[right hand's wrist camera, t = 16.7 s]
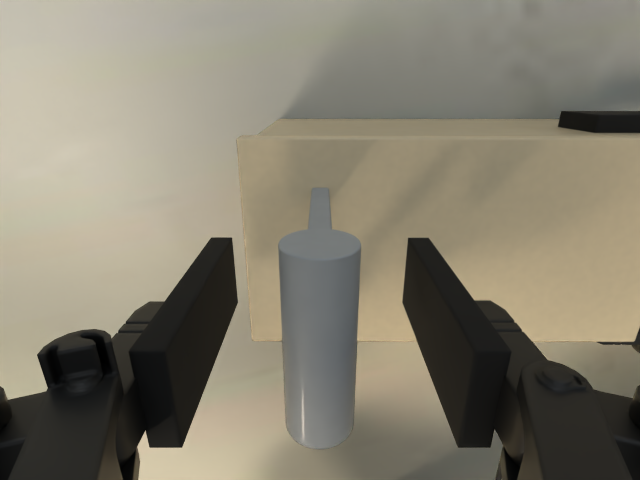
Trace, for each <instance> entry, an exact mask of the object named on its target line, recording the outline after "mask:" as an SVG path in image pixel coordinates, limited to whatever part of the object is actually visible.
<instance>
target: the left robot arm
mask: <svg viewBox="0 0 640 480" xmlns="http://www.w3.org/2000/svg"><path fill="white" fill-rule="evenodd" d="M558 127H561V128H567V129H573V130H580V131H586V132H592V133H640V111H561V114H560V119H559V123H558ZM598 343H600V344H603V345H613V344H615V345H620V344H622V345H632V347H633V348H634V349H635V350H637V351H638V352H639V353H640V328H639V331H638V333H637V336H636V339H635V341H634V342H598Z"/></svg>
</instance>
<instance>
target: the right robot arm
mask: <svg viewBox="0 0 640 480" xmlns="http://www.w3.org/2000/svg"><path fill="white" fill-rule="evenodd" d="M237 303H238V299H237V288H236V277H235V266H234V255H233V244H232V238H211V239H210V240H209V241H208V243H207V244H206V246H205V247H204V248H203V250H202V251H201V252H200V254H199V255H198V257H197V258H196V259H195V261H194V262H193V263H192V265H191V266H190V268H189V269H188V270H187V272H186V273H185V274H184V276H183V277H182V279H181V280H180V281H179V283H178V284H177V285H176V287H175V288H174V289H173V291H172V292H171V294H170V295H169V296H168V298H167V299H166V300H165V302H148V303H147V304H145V305H144V306H142V307H140V308H139V309H137V310H136V311H134V313H133V314H132V315H131V316H130V318H129V319H128V320H127V321H126V324H124V325H123V326H122V327H121V328H120V330H119V331H118V333H116V334H115V336H114V337H113V338H112V339H111V335H110V334H108V333H107V332H105V331H102V330H97V329H91V330H81V331H77V332H73V333H69V334H66V335H64V336H62V337H60V338H57V339H55V340H53V341H52V342H50V343H49V344H48V345H46V346H45V347H43V349H42V350H41V351H40V352H39V353H38V354H37V356H38V359H39V362H40V365H41V368H42V371H43V374H44V378H45V381H46V384H47V387H48V389H47V391H46V392H42V393H38V394H33V395H29V396H24V397H19V398H15V399H10V400H8V399H7V397H6V394H5V391H4V389H3V388H2V387H0V480H138V476H139V466H140V459H139V453H138V449H137V446H138V444H139V442H140V440H141V438H142V436H143V434H144V432H145V430H146V434H147V438H148V443H149V447H150V448H182V446H183V444H184V441H185V438H186V436H187V433H188V431H189V428H190V425H191V423H192V420H193V418H194V415H195V412H196V410H197V407H198V405H199V402H200V399H201V397H202V394H203V392H204V389H205V386H206V384H207V381H208V379H209V376H210V373H211V371H212V368H213V366H214V363H215V360H216V358H217V355H218V353H219V350H220V347H221V345H222V342H223V339H224V337H225V334H226V332H227V329H228V326H229V324H230V321H231V319H232V316H233V313H234V311H235V308H236V306H237ZM402 303H403V306H404V308H405V311H406V314H407V316H408V319H409V321H410V324H411V327H412V329H413V332H414V334H415V337H416V340H417V342H418V345H419V347H420V350H421V353H422V355H423V358H424V360H425V363H426V366H427V368H428V371H429V373H430V376H431V379H432V381H433V384H434V386H435V389H436V392H437V394H438V397H439V399H440V402H441V405H442V407H443V410H444V412H445V415H446V418H447V420H448V423H449V425H450V428H451V431H452V433H453V436H454V438H455V441H456V444H457V446H458V448H490V447H491V442H492V438H493V433H494V429H495V430H496V432H497V434H498V436H499V438H500V440H501V442H502V444H503V449H502V453H501V457H500V461H499V465H498V470H497V474H496V479H495V480H501V479H502V480H640V385H639V386H638V387H637V389H636V391H635V394H634V397H633V398H629V397H624V396H619V395H614V394H610V393H605V392H600V391H597V390H593V388H592V387H591V385H590V384H589V382H588V381H587V380H586V379H585V378H584V377H583V376H582V375H580V374H579V373H578V372H576V371H575V370H573V369H571V368H569V367H567V366H565V365H563V364H559V363H556V362H553V361H548V360H547V359H546V358H545V356H544V355H543V354H542V353H541V352H540V351H539V349H538V348H537V347H536V346H535V345H534V343H533V342H532V341H531V340H530V339H529V337H528V336H527V335H526V334H525V333H524V332H522V329H521V328H520V327H519V325H518V324H517V323H515V322H514V319H513V318H512V317H511V316H510V315H509V314H508V312H507V311H506V310H505V309H503V308H502V307H500V306H499V305H497V304H495V303H494V302H492V301H491V300H474V299H473V298H472V296H471V295H470V294H469V292H468V291H467V290H466V288H465V287H464V285H463V284H462V283H461V281H460V280H459V279H458V277H457V276H456V274H455V273H454V272H453V270H452V269H451V268H450V266H449V265H448V263H447V262H446V261H445V259H444V258H443V257H442V255H441V254H440V252H439V251H438V250H437V248H436V247H435V246H434V244H433V243H432V241H431V240H430V239H429V238H408V244H407V255H406V266H405V277H404V288H403V299H402Z"/></svg>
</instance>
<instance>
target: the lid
mask: <svg viewBox="0 0 640 480" xmlns="http://www.w3.org/2000/svg"><path fill="white" fill-rule="evenodd" d="M237 153H238V166H239V179H240V192H241V204H242V217H243V230H244V243H245V256H246V269H247V282H248V295H249V307H250V320H251V333H252V340H253V341H282V347H283V370H284V393H285V416H286V427H287V430H288V432H289V434H290V435H291V437H292V438H293V439H294V440H295V441H296V442H297V443H299V444H301V445H303V446H305V447H308V448H312V449H328V448H332V447H335V446H337V445H339V444H340V443H342V442H343V441H345V440H346V438H347V437H348V436H349V435H350V433H351V431H352V429H353V424H354V404H355V381H356V357H357V341H417V340H416V337H415V334H414V332H413V329H412V327H411V324H410V321H409V319H408V316H407V314H406V311H405V308H404V306H403V303H402V299H403V288H404V277H405V266H406V255H407V244H408V238H429V239H430V240H431V241H432V243H433V244H434V246H435V247H436V248H437V250H438V251H439V252H440V254H441V255H442V257H443V258H444V259H445V261H446V262H447V263H448V265H449V266H450V268H451V269H452V270H453V272H454V273H455V274H456V276H457V277H458V279H459V280H460V281H461V283H462V284H463V285H464V287H465V288H466V290H467V291H468V292H469V294H470V295H471V296H472V298H473V299H474V300H491V301H492V302H494V303H495V304H497V305H499V306H500V307H502V308H503V309H505V310H506V311H507V312H508V314H509V315H510V316H511V317H512V318H513V319H514V322H515V323H517V324H518V325H519V327H520V328H521V329H522V332H524V333H525V334H526V335H527V336H528V337H529V339H530V340H531V341H532V342H634V341H635V339H636V336H637V333H638V331H639V328H640V136H394V135H242V136H240V137H238V138H237Z"/></svg>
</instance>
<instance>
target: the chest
mask: <svg viewBox="0 0 640 480" xmlns="http://www.w3.org/2000/svg"><path fill="white" fill-rule="evenodd" d="M558 123H559V119H279V120H277V121H276V122H274V123H273V124H272V125H270V126H269V127H267V128H266V129H265V130H263V131H262V132H261V133H259V134H258V135H394V136H640V133H592V132H586V131H580V130H573V129H567V128H561V127H558Z"/></svg>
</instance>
